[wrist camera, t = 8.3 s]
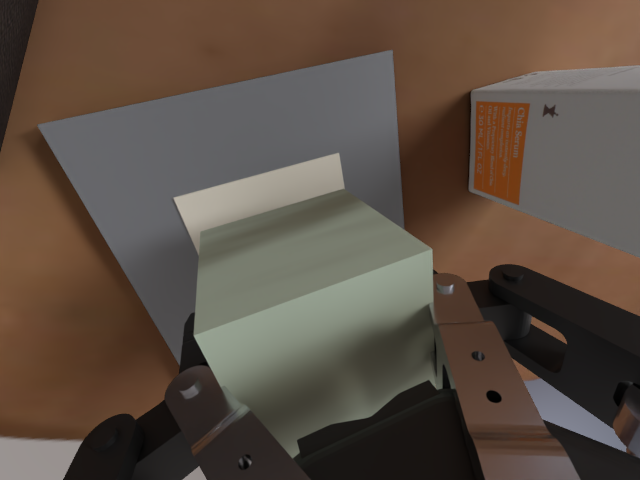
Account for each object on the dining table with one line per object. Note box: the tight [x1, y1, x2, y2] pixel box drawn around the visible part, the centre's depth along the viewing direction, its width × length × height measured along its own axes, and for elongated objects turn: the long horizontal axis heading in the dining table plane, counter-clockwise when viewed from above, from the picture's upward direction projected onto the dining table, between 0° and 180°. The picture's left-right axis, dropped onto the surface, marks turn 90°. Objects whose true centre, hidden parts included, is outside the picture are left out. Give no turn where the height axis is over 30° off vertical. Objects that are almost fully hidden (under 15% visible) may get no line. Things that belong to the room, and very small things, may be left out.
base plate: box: [37, 50, 404, 365], centre depth 16 cm, size 15×14×1 cm
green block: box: [194, 189, 435, 458], centre depth 11 cm, size 6×6×6 cm
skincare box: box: [469, 65, 640, 258], centre depth 13 cm, size 6×4×12 cm
